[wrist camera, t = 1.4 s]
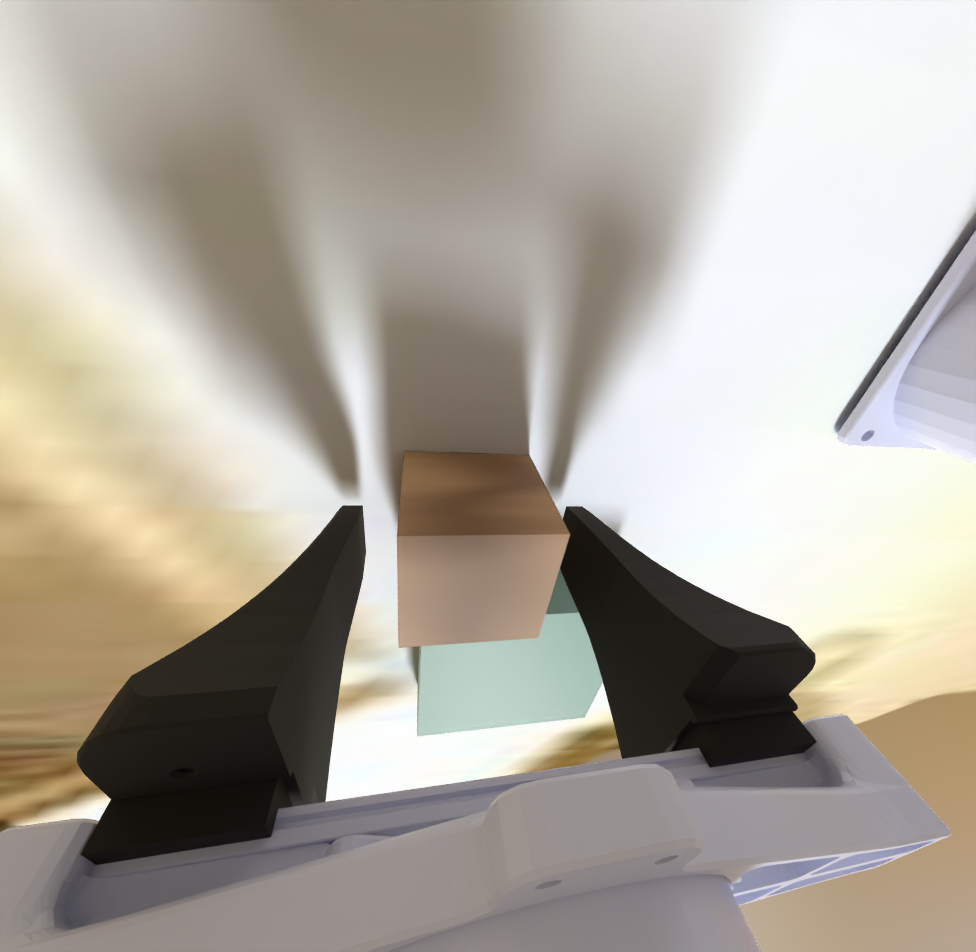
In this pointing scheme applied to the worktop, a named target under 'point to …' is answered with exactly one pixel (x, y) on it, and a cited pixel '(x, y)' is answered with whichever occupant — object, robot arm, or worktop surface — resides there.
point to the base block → (510, 676)
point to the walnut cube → (475, 548)
